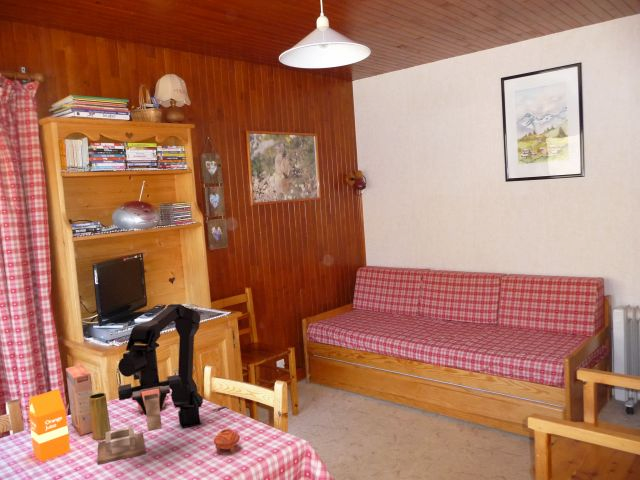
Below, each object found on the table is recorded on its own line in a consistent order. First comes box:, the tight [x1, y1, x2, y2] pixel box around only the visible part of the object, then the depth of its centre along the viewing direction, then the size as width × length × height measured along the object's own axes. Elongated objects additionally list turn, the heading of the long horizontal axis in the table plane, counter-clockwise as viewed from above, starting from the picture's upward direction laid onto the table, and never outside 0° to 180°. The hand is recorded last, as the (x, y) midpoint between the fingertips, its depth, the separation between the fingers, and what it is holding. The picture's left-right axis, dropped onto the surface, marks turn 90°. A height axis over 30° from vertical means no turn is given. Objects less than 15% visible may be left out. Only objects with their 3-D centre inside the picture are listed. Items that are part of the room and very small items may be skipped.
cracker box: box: [65, 364, 93, 436], centre depth 194 cm, size 14×6×21 cm, turn 35°
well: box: [96, 426, 146, 465], centre depth 176 cm, size 14×14×5 cm
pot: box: [213, 428, 241, 453], centre depth 171 cm, size 8×8×7 cm
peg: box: [144, 393, 163, 432], centre depth 172 cm, size 4×4×10 cm
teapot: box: [130, 388, 170, 412], centre depth 207 cm, size 12×12×10 cm
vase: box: [89, 392, 112, 441], centre depth 186 cm, size 6×6×14 cm
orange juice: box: [27, 388, 71, 462], centre depth 176 cm, size 8×9×20 cm
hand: (153, 413), depth 172 cm, fingers closed on peg, 4 cm apart
